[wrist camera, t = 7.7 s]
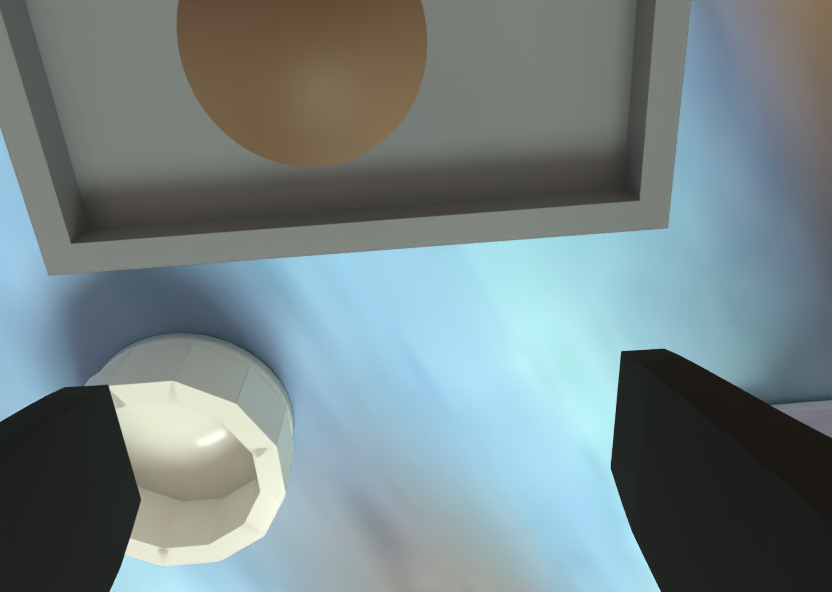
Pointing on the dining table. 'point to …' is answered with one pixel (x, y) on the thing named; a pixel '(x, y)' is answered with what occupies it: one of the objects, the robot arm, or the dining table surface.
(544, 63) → the tray
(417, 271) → the dining table surface
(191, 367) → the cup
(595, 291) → the dining table surface
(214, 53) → the dowel
